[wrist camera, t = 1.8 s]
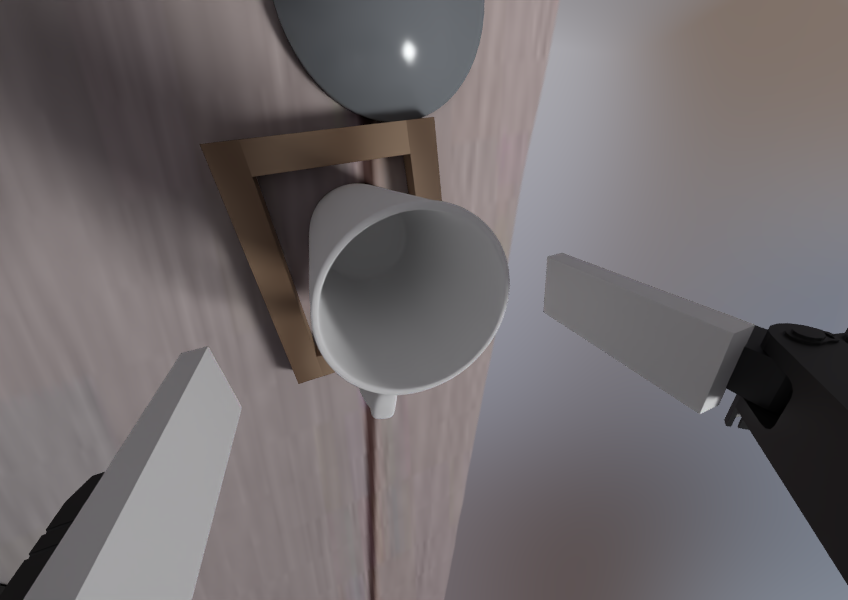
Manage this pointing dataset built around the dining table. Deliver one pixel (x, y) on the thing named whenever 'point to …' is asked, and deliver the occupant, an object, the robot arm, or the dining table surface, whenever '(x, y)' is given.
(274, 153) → the holder
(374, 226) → the mug
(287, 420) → the dining table surface
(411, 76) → the coaster
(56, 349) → the dining table surface
